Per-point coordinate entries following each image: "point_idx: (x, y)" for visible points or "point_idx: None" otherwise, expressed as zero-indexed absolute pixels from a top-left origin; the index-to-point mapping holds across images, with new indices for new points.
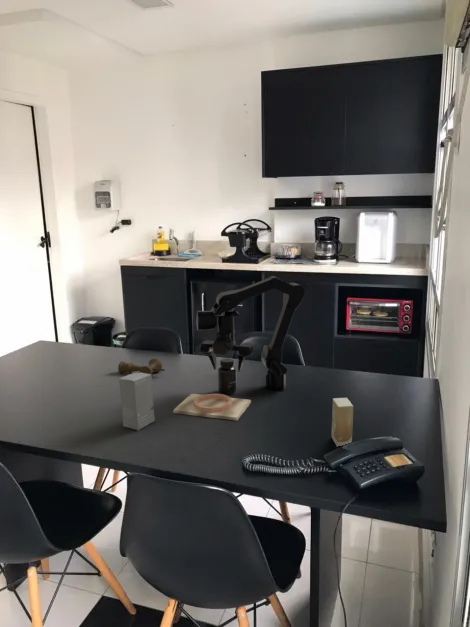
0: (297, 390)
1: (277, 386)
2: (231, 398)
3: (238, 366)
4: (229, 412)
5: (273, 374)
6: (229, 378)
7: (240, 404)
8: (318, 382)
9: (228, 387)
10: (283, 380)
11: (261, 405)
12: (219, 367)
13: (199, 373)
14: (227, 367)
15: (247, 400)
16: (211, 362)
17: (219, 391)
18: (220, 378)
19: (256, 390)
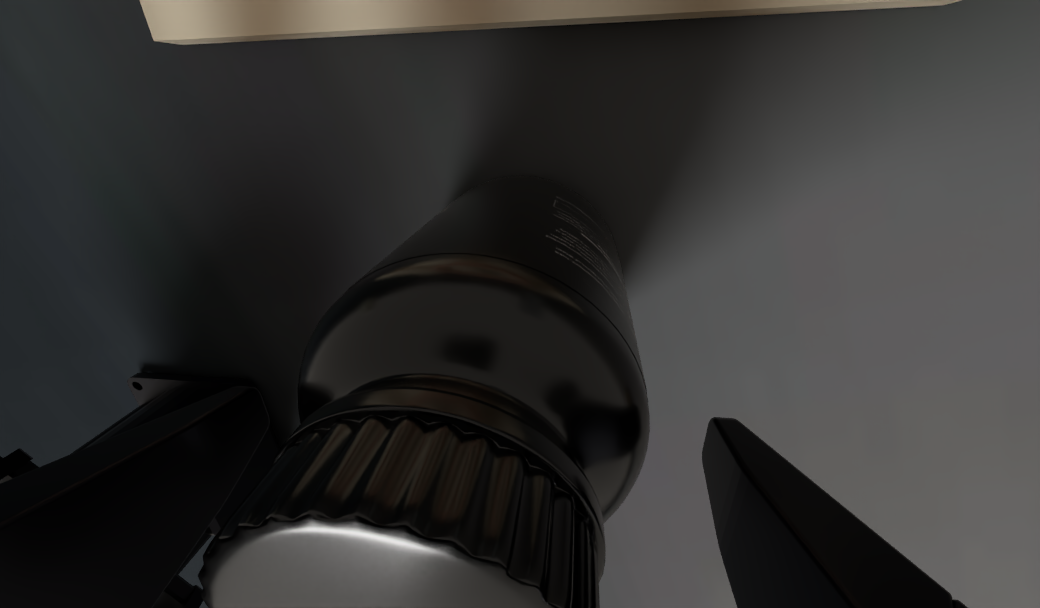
0: (74, 398)
1: (155, 400)
2: (359, 5)
3: (140, 449)
4: None
5: (10, 455)
6: (398, 249)
7: None
8: None
9: (456, 203)
10: (80, 448)
11: (54, 4)
12: (616, 448)
13: None
14: (369, 396)
15: (171, 8)
16: (904, 563)
17: (584, 201)
18: (555, 239)
19: None
